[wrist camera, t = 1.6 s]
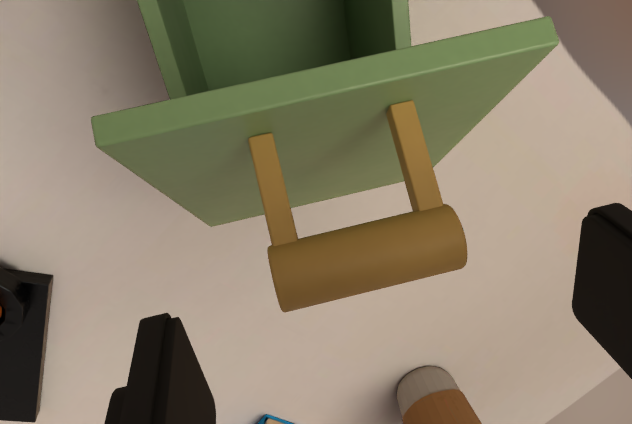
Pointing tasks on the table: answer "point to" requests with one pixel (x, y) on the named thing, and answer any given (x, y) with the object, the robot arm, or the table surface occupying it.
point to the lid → (332, 154)
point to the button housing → (23, 342)
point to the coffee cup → (433, 399)
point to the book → (272, 420)
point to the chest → (265, 37)
